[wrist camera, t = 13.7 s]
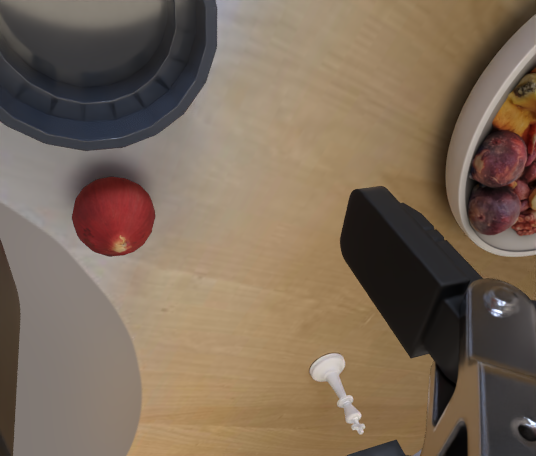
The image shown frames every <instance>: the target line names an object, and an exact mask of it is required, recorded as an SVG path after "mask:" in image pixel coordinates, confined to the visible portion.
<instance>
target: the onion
mask: <svg viewBox="0 0 536 456" xmlns="http://www.w3.org/2000/svg"><path fill="white" fill-rule="evenodd" d="M72 220H73V224H74V227H75V230H76V233H77V236H78V237H79V239H80V240H81V241H82V242H83V243H84V244H85V245H86V246H88V247H89V248H90V249H91V250H92V251H94V252H96V253H99V254H102V255H105V256H110V257H111V256H120V255H126V254H128V253H131V252H134V251H135V250H137V249H138V248H139V247H141V246H142V245H143V244H144V243H145V241H146V240H147V238H148V237H149V235H150V234H151V232H152V228H153V224H154V220H155V210H154V207H153V204H152V200H151V198H150V196H149V194H148V193H147V192H146V191H145V190H144V189H143V188H142V187H141V186H140V185H139V184H137V183H135V182H132V181H130V180H128V179H126V178H119V177H107V178H101V179H97V180H95V181H93V182H92V183H90V184H89V185H87V186H86V187H84V188H83V189H82V191H81V192H80V193H79V195H78V196H77V198H76V200H75V204H74V209H73V214H72Z"/></svg>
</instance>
